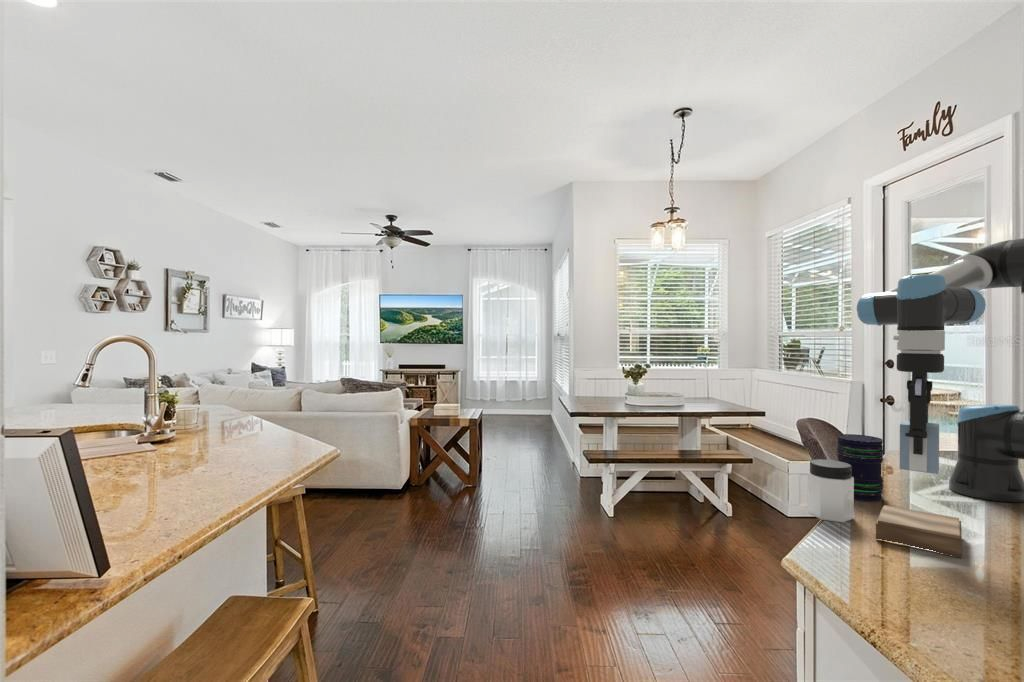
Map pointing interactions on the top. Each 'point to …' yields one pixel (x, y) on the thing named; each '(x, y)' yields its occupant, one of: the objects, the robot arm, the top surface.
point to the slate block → (932, 447)
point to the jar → (831, 490)
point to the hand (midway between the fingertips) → (918, 466)
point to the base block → (920, 530)
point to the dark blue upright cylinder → (863, 464)
